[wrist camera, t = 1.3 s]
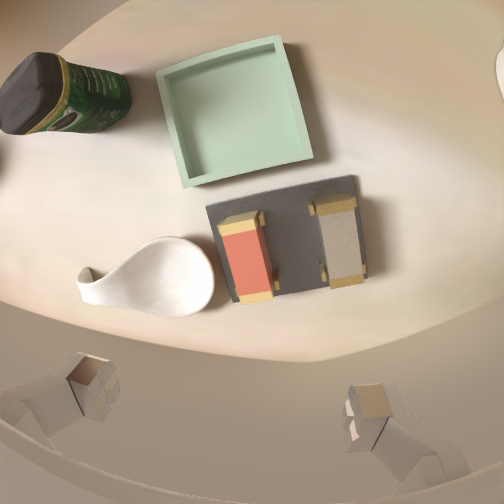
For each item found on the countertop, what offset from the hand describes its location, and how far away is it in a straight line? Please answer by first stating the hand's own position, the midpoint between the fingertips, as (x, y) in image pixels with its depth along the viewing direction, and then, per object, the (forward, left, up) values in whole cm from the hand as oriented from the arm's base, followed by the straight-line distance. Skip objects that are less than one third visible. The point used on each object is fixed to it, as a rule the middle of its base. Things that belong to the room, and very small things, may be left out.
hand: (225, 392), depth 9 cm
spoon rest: (+21, +5, -32) cm, 38 cm away
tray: (+2, -14, -31) cm, 34 cm away
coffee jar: (+20, -22, -31) cm, 43 cm away
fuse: (+4, +4, -30) cm, 31 cm away
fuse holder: (-1, +4, -31) cm, 31 cm away
